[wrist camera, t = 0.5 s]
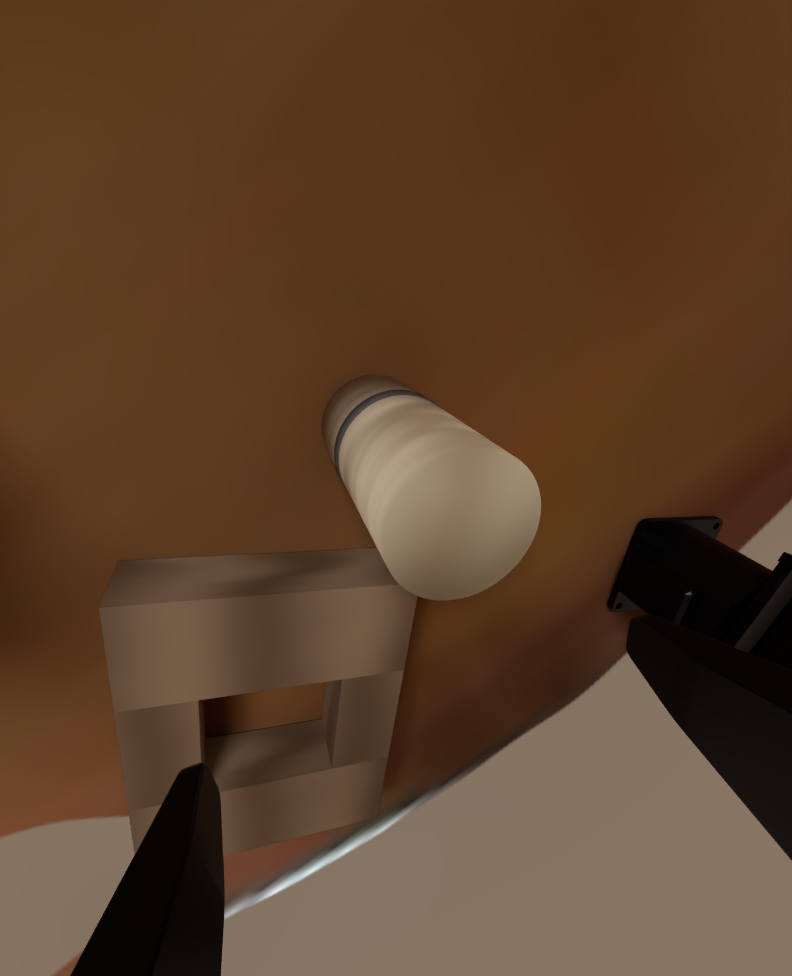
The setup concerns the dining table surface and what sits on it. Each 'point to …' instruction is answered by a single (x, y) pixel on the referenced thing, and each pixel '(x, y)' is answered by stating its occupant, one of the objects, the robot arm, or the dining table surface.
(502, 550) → the birch peg
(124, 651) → the walnut board
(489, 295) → the dining table surface
